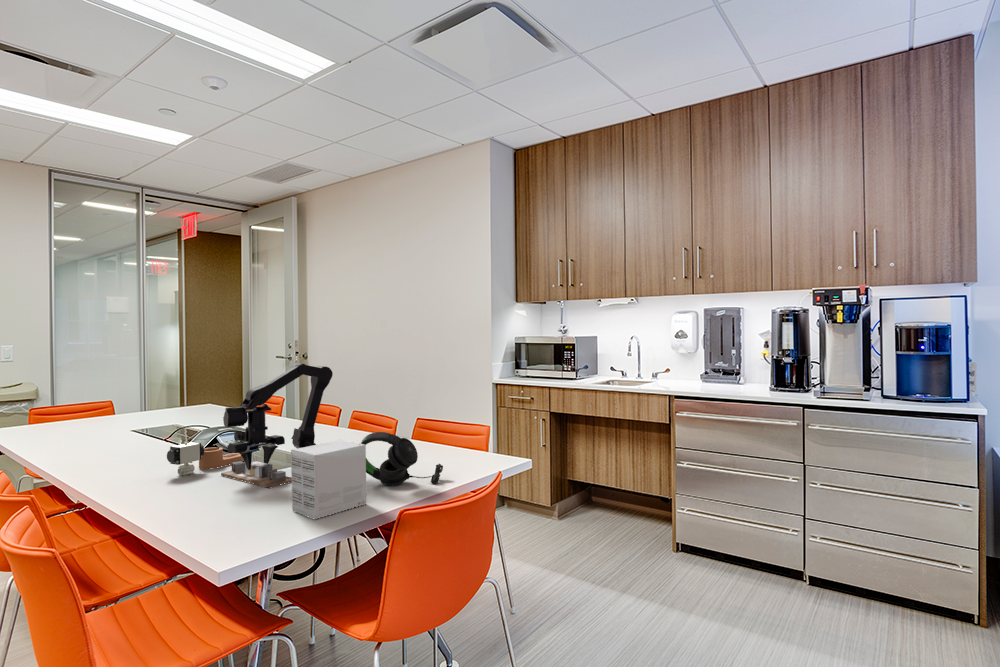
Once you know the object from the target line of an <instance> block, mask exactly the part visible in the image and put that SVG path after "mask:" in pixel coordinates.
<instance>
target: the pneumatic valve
mask: <svg viewBox="0 0 1000 667" xmlns="http://www.w3.org/2000/svg"><path fill="white" fill-rule="evenodd" d="M204 449H205V447H204V445H203V444H202V442H197V441H196V442H195V441H192V442H188V441H184V442H183V443H182V444H178V445H172V446H169V450H168V451H167V452H166V459H167V461H168V462H169V464H170V465H176V466H178V467H177V474H178V475H179V476H184V475H186V476H189V475H193V474H194V471H195V465H194V464H193V462H196V461H199V460H201V457H202V455H203V454H204ZM192 473H193V474H192ZM188 474H189V475H188Z"/></svg>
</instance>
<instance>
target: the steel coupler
mask: <svg viewBox="0 0 1000 667" xmlns="http://www.w3.org/2000/svg"><path fill="white" fill-rule="evenodd" d="M242 465H243V474H245V475H249V476H253V477H257V478H261V479H263V478H267V477H268V471H270V470H273V464H271V463H268V464H266V463H264V462H260V461H256V460H254V459H252V462H251V470H248V469H247V466H246V464H245V462H243V463H242Z"/></svg>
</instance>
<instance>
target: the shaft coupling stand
mask: <svg viewBox="0 0 1000 667" xmlns="http://www.w3.org/2000/svg"><path fill="white" fill-rule="evenodd" d="M242 463H243V462H241V461H239V462H232V465H231V470H229V471H224V472H221V473H220V475H223V476H222V477H224V476H227V477H226V478H228V477H231V478H230V479H232V478H235V479H234V480H236V479H239V480H243V481H246V482H245V483H247V482H250V483H249V484H251V483H254V484H253V485H255V484H257V485H256V486H258V485H261V486H260V487H262V486H265V487H264V488H266V487H272V488H274V487H273V486H276V487H278V486H277V485H279V486H281V485H280V484H283V485H285V484H284V483H287V484H289V483H288V482H291V483H292V476H291V477H290V476H287V474H286V471H284V470H278V469H277V468H276V469H275V468H274V469H272V470H270V471H268V477H267V478H263V479H261V478H257V477H253V476H249V475H245V474H243V465H242ZM239 480H238V481H239ZM243 481H242V482H243Z"/></svg>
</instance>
